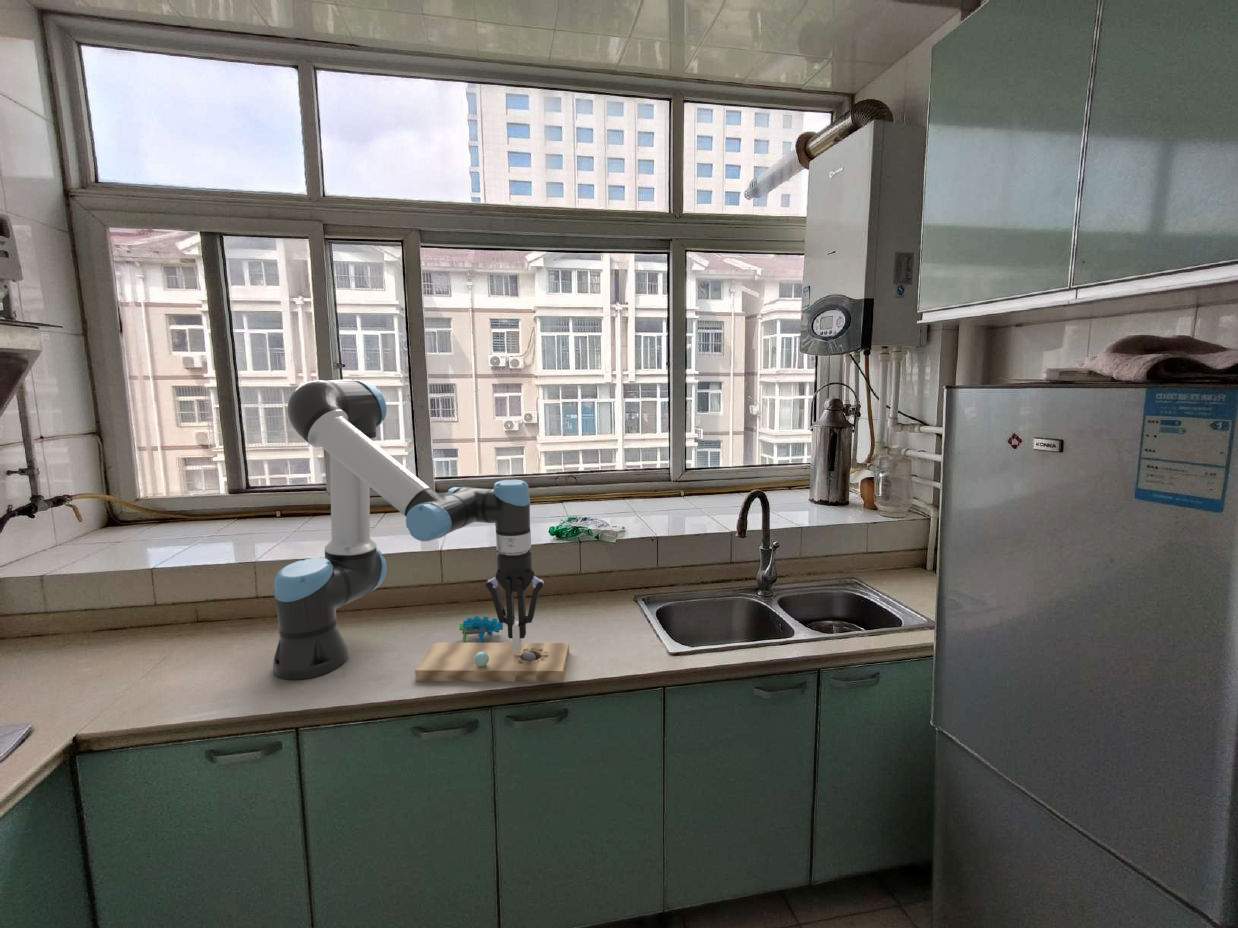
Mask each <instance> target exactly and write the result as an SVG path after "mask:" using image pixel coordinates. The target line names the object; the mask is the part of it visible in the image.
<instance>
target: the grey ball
mask: <svg viewBox="0 0 1238 928" xmlns="http://www.w3.org/2000/svg"><path fill="white" fill-rule="evenodd" d="M522 660H524V661H535V660H536V656H535V654H534V653H533V652H526V653H525V654H524V655H523V657H522Z"/></svg>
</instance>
